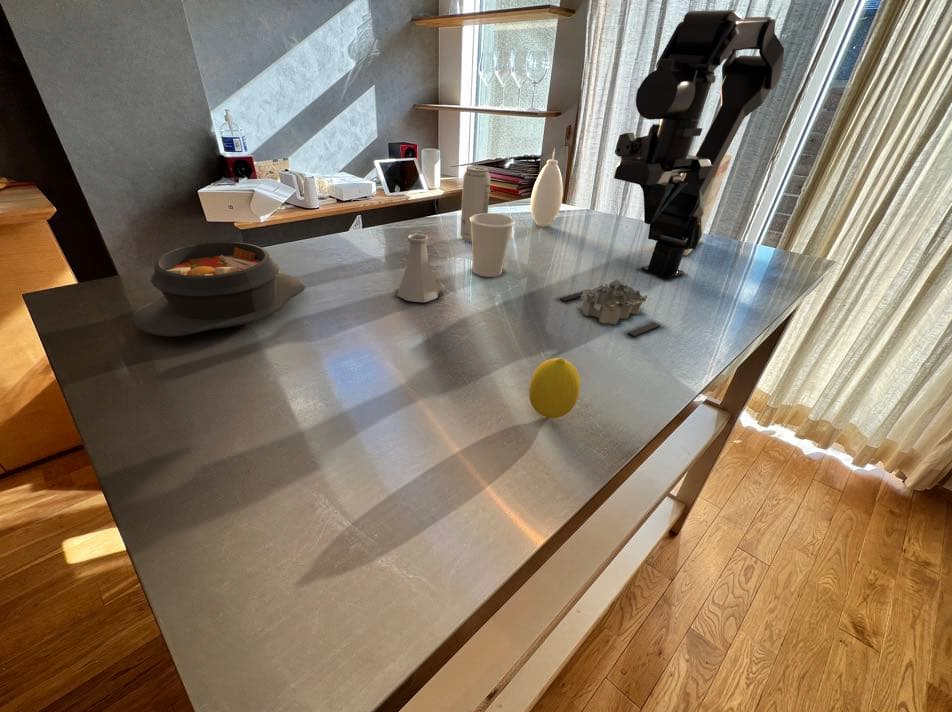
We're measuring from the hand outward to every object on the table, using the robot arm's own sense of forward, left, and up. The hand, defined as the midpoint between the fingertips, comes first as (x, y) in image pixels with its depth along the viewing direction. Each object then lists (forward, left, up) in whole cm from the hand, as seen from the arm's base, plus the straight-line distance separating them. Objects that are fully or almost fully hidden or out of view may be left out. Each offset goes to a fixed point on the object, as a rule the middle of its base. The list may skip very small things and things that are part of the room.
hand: (648, 223), depth 78 cm
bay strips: (+12, +5, -12) cm, 18 cm away
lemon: (+42, +20, -12) cm, 48 cm away
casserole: (+66, -26, -12) cm, 72 cm away
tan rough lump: (+12, +5, -12) cm, 18 cm away
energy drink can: (+9, -38, -12) cm, 41 cm away
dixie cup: (+19, -20, -12) cm, 30 cm away
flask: (+37, -17, -12) cm, 43 cm away
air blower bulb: (-15, -39, -12) cm, 44 cm away
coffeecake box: (-35, -11, -12) cm, 39 cm away
